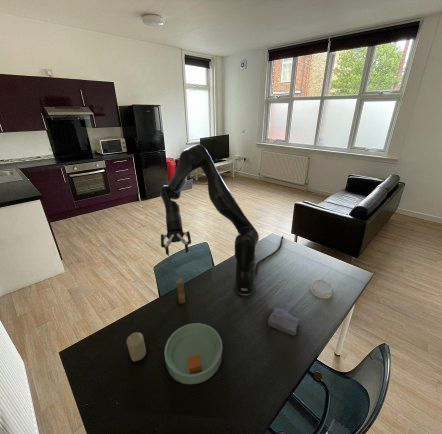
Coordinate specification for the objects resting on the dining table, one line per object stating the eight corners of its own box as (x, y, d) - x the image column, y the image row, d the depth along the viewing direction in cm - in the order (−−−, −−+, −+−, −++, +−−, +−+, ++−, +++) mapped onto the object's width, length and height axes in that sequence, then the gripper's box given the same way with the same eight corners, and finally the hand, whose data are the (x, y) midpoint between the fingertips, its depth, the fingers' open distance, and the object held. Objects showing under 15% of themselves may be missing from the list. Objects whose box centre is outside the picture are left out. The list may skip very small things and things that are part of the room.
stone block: (273, 313, 107) (266, 326, 99) (275, 304, 106) (268, 316, 97) (299, 324, 102) (294, 339, 94) (302, 315, 101) (297, 329, 92)
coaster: (328, 285, 121) (329, 280, 120) (334, 300, 112) (336, 294, 111) (308, 284, 122) (309, 278, 121) (312, 298, 113) (314, 292, 112)
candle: (137, 365, 84) (132, 346, 80) (127, 357, 87) (122, 338, 82) (149, 352, 88) (145, 334, 84) (139, 345, 91) (135, 327, 87)
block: (188, 364, 84) (188, 357, 82) (200, 361, 85) (199, 354, 83) (190, 375, 80) (189, 368, 78) (201, 372, 81) (201, 365, 79)
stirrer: (178, 299, 113) (176, 279, 107) (185, 298, 113) (183, 278, 108) (179, 303, 110) (176, 283, 105) (185, 302, 111) (183, 282, 105)
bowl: (185, 325, 99) (185, 316, 97) (230, 343, 92) (231, 334, 90) (153, 370, 83) (152, 361, 80) (205, 396, 75) (205, 387, 73)
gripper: (158, 221, 114) (161, 254, 109) (188, 218, 117) (192, 250, 112) (159, 226, 121) (162, 257, 116) (188, 223, 124) (192, 253, 119)
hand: (177, 254), depth 114 cm, fingers open, 8 cm apart
